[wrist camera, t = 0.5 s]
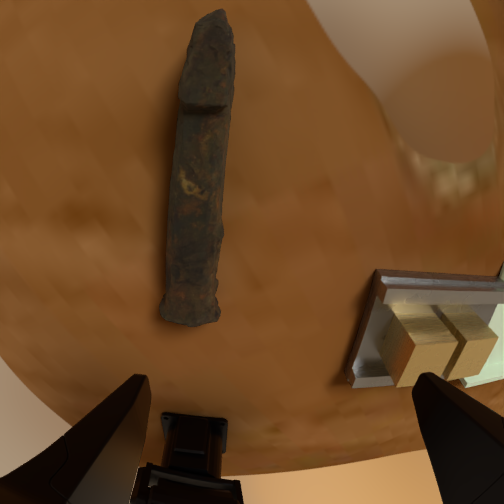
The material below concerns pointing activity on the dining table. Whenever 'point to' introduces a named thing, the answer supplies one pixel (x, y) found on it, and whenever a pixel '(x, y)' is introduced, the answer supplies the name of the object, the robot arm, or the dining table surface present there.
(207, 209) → the wooden stick
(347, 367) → the slot rail
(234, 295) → the dining table surface
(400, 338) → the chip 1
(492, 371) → the tray
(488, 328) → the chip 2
